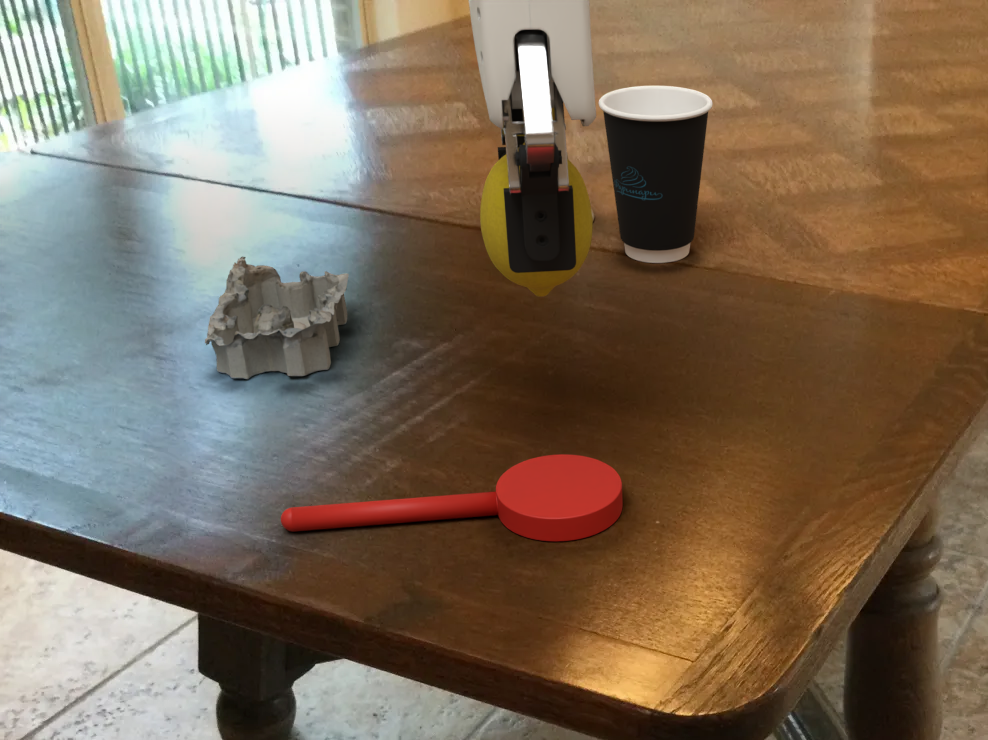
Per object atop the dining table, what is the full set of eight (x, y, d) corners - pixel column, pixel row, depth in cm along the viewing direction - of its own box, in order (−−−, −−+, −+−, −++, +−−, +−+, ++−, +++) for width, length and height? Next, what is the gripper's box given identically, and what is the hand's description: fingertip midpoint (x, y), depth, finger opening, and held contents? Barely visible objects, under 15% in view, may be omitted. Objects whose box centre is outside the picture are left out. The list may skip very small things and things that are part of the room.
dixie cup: (603, 272, 96) (598, 116, 90) (603, 232, 103) (598, 85, 97) (714, 270, 97) (716, 115, 90) (707, 231, 103) (708, 84, 97)
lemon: (577, 269, 72) (570, 119, 68) (609, 309, 68) (603, 151, 63) (475, 283, 70) (462, 129, 66) (501, 324, 66) (488, 163, 62)
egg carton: (248, 311, 89) (237, 252, 87) (362, 311, 90) (354, 253, 87) (200, 382, 80) (186, 318, 78) (326, 382, 81) (316, 319, 78)
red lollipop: (276, 566, 64) (272, 541, 64) (288, 497, 70) (284, 474, 69) (630, 536, 67) (629, 512, 66) (615, 472, 72) (614, 449, 72)
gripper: (625, -132, 51) (634, 309, 61) (582, -178, 65) (595, 187, 75) (424, -131, 50) (467, 319, 60) (425, -178, 64) (459, 193, 74)
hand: (538, 242), depth 68 cm, fingers closed on lemon, 5 cm apart
